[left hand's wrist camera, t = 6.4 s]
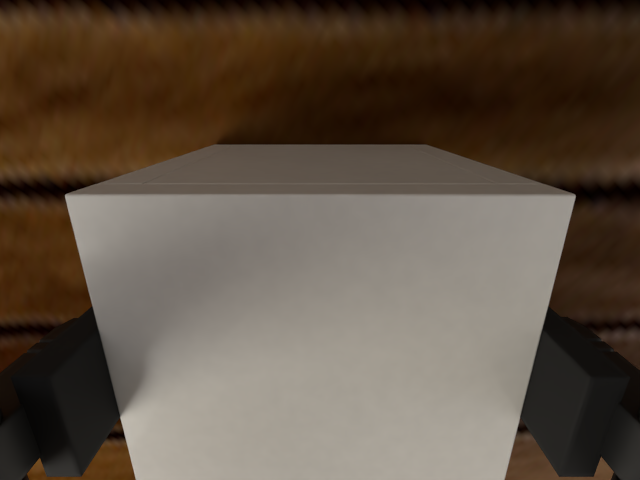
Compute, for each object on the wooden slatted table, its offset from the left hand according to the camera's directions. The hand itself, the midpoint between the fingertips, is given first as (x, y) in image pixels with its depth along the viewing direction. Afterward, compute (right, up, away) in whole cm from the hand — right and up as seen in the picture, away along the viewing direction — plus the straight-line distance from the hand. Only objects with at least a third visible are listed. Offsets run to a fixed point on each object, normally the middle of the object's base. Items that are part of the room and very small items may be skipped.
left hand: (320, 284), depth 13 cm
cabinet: (0, -3, +8) cm, 8 cm away
